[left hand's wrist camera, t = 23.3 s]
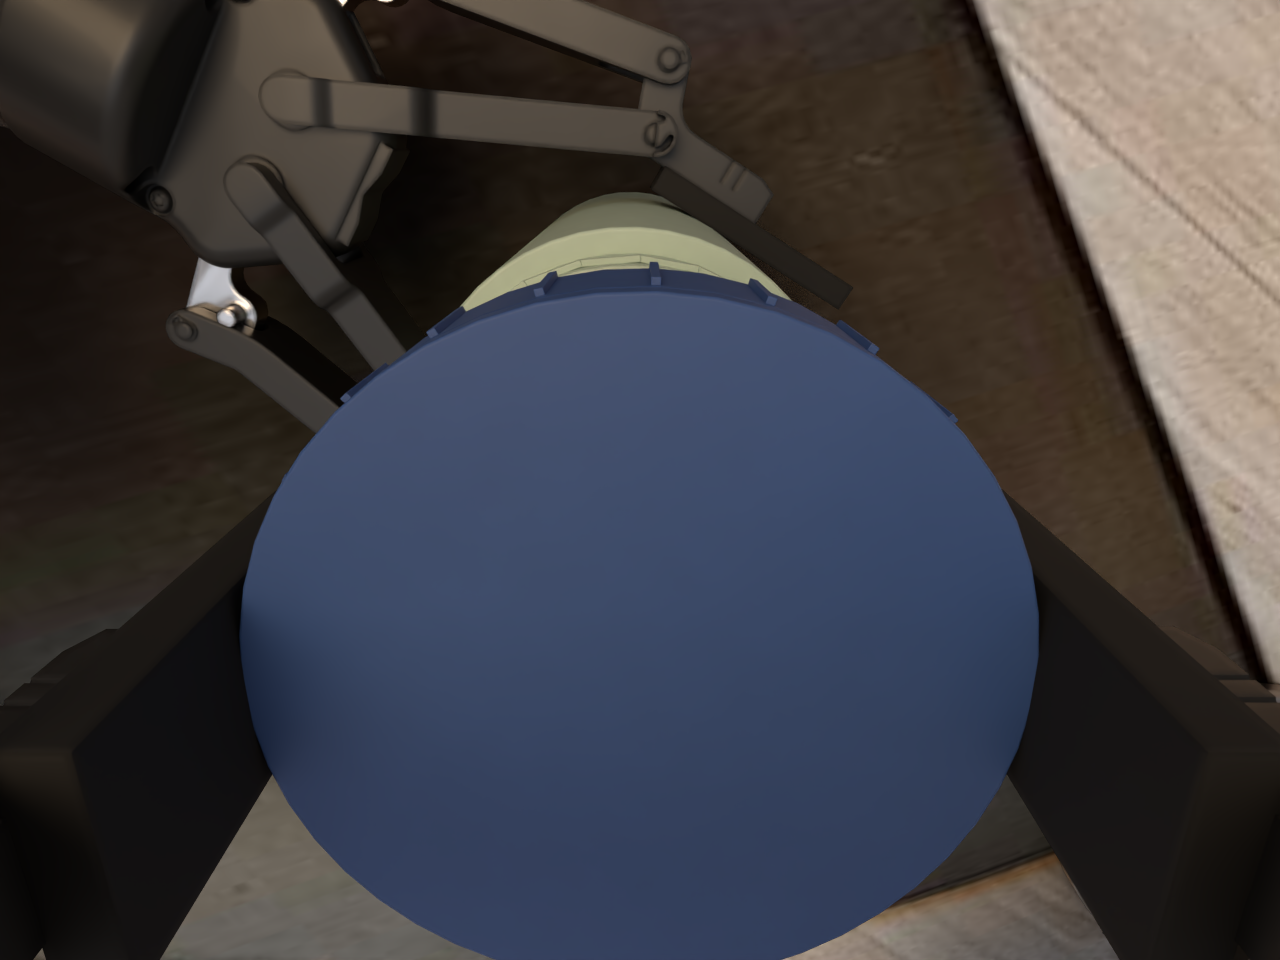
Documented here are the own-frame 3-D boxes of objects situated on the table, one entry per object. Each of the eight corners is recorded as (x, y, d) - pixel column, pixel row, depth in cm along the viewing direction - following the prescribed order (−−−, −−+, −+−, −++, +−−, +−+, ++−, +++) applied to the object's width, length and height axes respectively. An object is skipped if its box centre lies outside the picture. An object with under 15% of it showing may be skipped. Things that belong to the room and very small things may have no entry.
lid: (227, 302, 11) (127, 333, 8) (990, 227, 10) (1079, 241, 8) (378, 885, 14) (333, 1009, 12) (962, 841, 13) (1020, 961, 11)
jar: (572, 149, 31) (497, 142, 14) (783, 255, 32) (954, 367, 15) (483, 364, 34) (330, 579, 17) (681, 452, 35) (728, 734, 18)
